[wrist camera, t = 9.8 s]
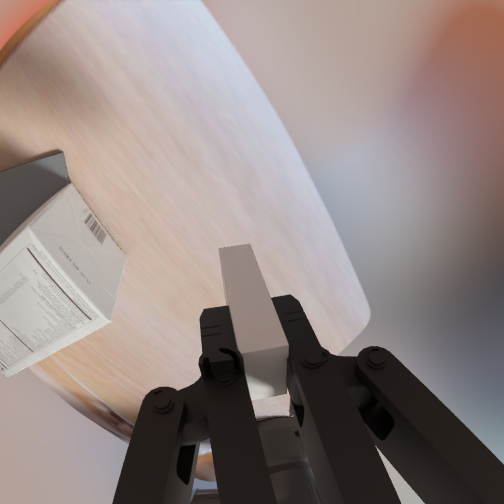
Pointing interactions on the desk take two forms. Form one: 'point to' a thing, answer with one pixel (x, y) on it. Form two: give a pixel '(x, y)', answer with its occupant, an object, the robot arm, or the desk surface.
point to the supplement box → (55, 281)
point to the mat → (29, 190)
